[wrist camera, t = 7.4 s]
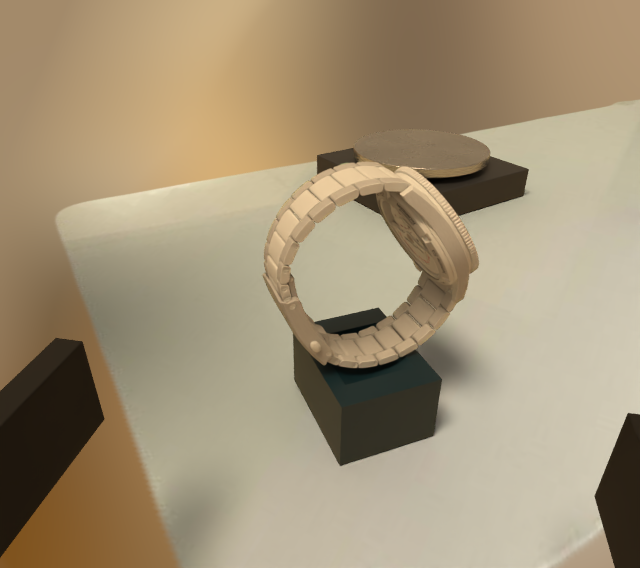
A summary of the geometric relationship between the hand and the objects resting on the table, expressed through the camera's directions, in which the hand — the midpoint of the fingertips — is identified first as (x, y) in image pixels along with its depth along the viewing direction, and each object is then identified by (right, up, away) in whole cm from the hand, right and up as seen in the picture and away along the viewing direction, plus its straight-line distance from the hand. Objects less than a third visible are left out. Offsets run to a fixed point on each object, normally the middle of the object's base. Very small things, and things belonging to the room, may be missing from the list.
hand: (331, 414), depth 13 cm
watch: (+2, -2, +11) cm, 12 cm away
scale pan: (+8, +14, +33) cm, 37 cm away
